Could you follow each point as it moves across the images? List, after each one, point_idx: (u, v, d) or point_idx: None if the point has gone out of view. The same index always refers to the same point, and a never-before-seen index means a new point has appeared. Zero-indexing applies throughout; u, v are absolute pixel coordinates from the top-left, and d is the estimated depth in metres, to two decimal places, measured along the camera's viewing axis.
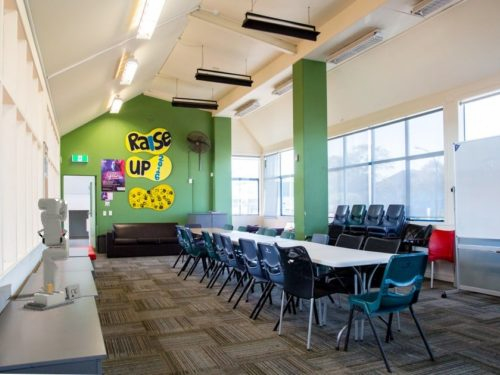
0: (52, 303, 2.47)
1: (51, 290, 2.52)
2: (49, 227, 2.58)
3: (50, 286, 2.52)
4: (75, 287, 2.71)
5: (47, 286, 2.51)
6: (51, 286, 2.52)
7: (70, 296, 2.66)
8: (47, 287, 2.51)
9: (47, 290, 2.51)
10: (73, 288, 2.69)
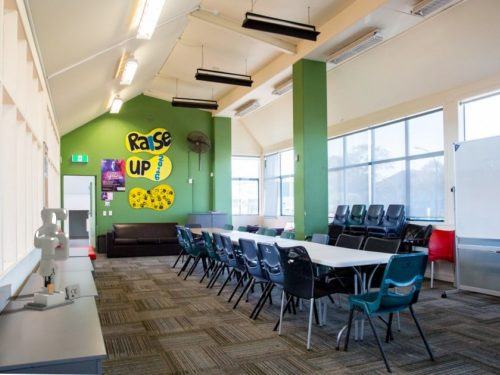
0: (52, 303, 2.47)
1: (52, 290, 2.52)
2: None
3: (51, 286, 2.51)
4: (75, 287, 2.71)
5: (48, 286, 2.51)
6: (52, 286, 2.52)
7: (70, 296, 2.66)
8: (48, 287, 2.51)
9: (48, 290, 2.50)
10: (73, 288, 2.69)
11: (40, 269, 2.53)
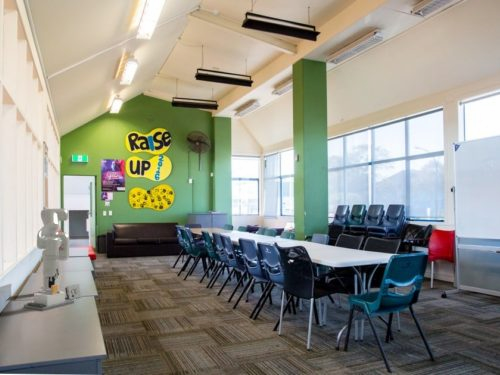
0: (52, 303, 2.47)
1: (56, 291, 2.50)
2: None
3: (55, 287, 2.50)
4: (75, 287, 2.71)
5: (52, 287, 2.49)
6: (56, 287, 2.50)
7: (70, 296, 2.66)
8: (52, 288, 2.49)
9: (52, 291, 2.49)
10: (73, 288, 2.69)
11: (44, 269, 2.51)
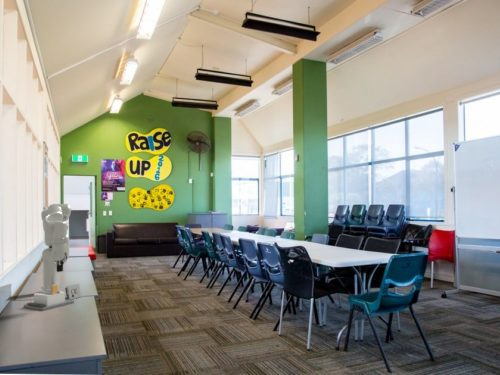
0: (52, 303, 2.47)
1: (56, 291, 2.50)
2: None
3: (55, 287, 2.50)
4: (75, 287, 2.71)
5: (52, 287, 2.49)
6: (56, 287, 2.50)
7: (70, 296, 2.66)
8: (52, 288, 2.49)
9: (52, 291, 2.49)
10: (73, 288, 2.69)
11: (52, 253, 2.48)
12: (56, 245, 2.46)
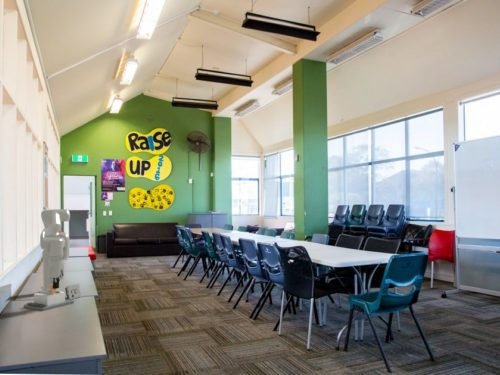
0: (52, 303, 2.47)
1: (54, 290, 2.51)
2: None
3: None
4: (75, 287, 2.71)
5: (50, 286, 2.49)
6: None
7: (70, 296, 2.66)
8: (50, 287, 2.49)
9: (50, 290, 2.49)
10: (73, 288, 2.69)
11: (48, 270, 2.49)
12: (52, 262, 2.48)
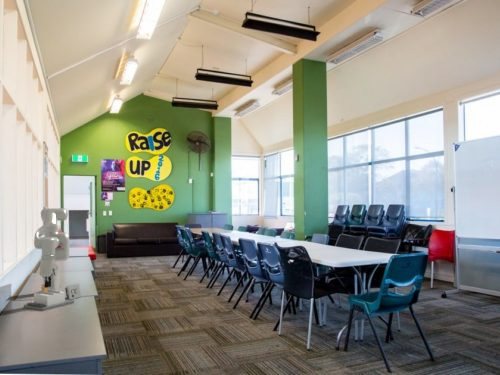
0: (52, 303, 2.47)
1: (46, 289, 2.54)
2: None
3: None
4: (75, 287, 2.71)
5: (42, 285, 2.53)
6: None
7: (70, 296, 2.66)
8: (42, 286, 2.53)
9: (42, 289, 2.53)
10: (73, 288, 2.69)
11: (40, 269, 2.53)
12: (44, 261, 2.51)
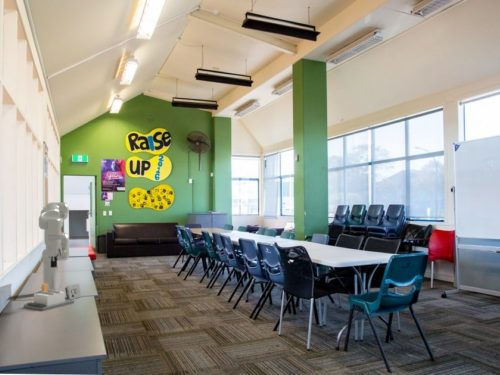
0: (52, 303, 2.47)
1: (46, 289, 2.54)
2: None
3: (45, 285, 2.54)
4: (75, 287, 2.71)
5: (42, 285, 2.53)
6: (46, 285, 2.54)
7: (70, 296, 2.66)
8: (42, 286, 2.53)
9: (42, 289, 2.53)
10: (73, 288, 2.69)
11: (46, 249, 2.53)
12: (50, 241, 2.52)
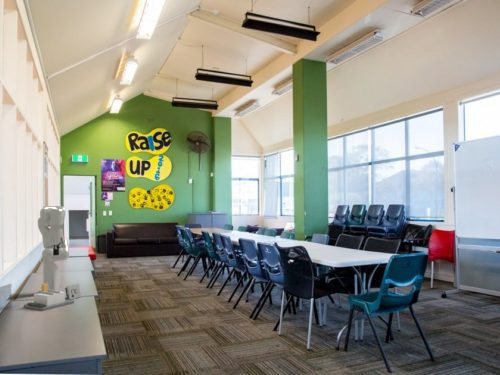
0: (52, 303, 2.47)
1: (46, 289, 2.54)
2: None
3: (45, 285, 2.54)
4: (75, 287, 2.71)
5: (42, 285, 2.53)
6: (46, 285, 2.54)
7: (70, 296, 2.66)
8: (42, 286, 2.53)
9: (42, 289, 2.53)
10: (73, 288, 2.69)
11: (49, 238, 2.68)
12: (53, 231, 2.67)
